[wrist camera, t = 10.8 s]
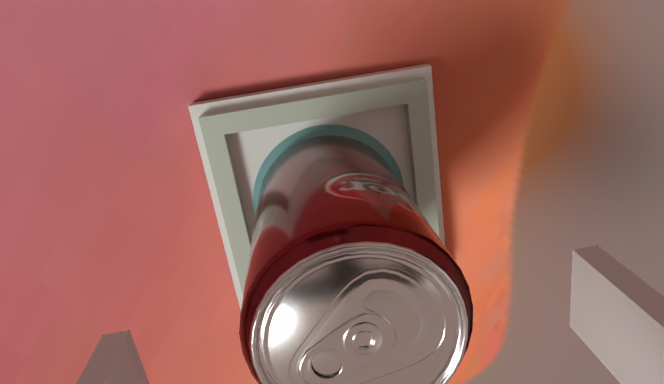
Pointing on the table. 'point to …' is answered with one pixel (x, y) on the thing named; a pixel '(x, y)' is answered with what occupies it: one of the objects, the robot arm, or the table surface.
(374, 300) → the soda can
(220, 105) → the base plate
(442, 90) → the table surface
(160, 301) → the table surface
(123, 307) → the table surface
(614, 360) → the robot arm
